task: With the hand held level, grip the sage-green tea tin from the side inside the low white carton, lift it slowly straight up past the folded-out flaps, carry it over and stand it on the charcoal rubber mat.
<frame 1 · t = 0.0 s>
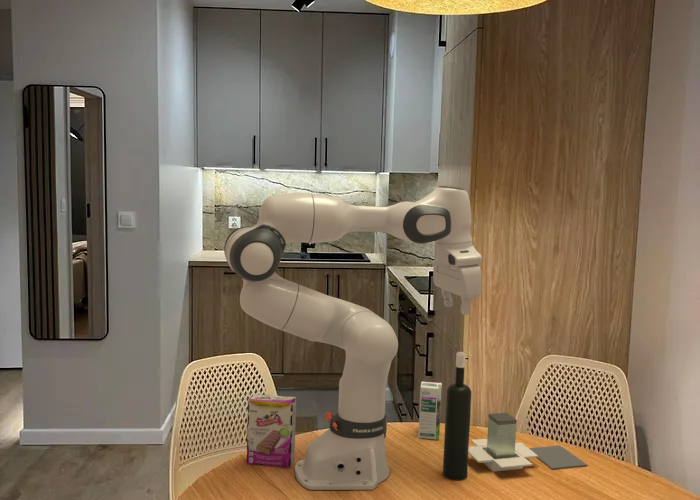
hand: (456, 310, 156), 39 cm above the table, tool pointing down, fingers open, 8 cm apart
candy bar box: (270, 463, 158), on the table
carton: (499, 462, 162), on the table
wine bottle: (454, 475, 154), on the table
mat: (556, 457, 166), on the table
tea tin: (499, 463, 162), resting in carton
syrup box: (428, 436, 178), on the table
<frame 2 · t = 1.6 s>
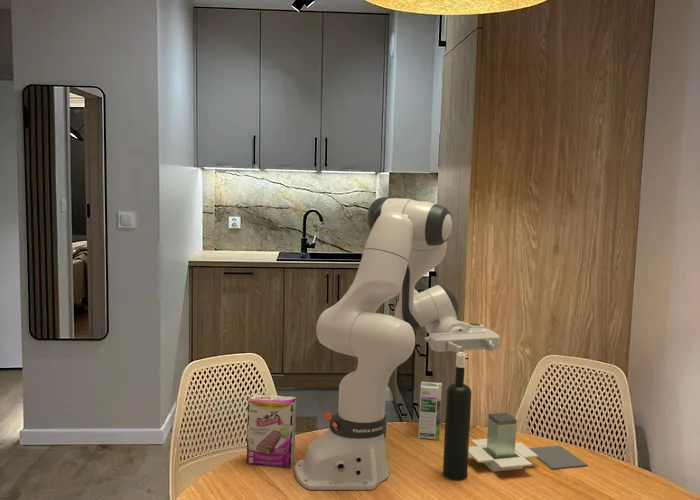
hand: (475, 349, 175), 25 cm above the table, tool horizontal, fingers open, 8 cm apart
nothing on the table moved.
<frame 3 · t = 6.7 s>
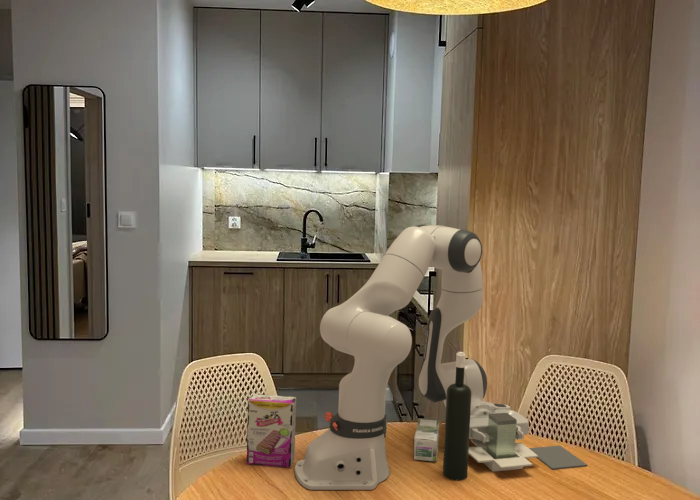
hand: (503, 438, 160), 7 cm above the table, tool horizontal, fingers open, 8 cm apart
syrup box: (428, 428, 175), point 3 cm above the table
everything else where it was.
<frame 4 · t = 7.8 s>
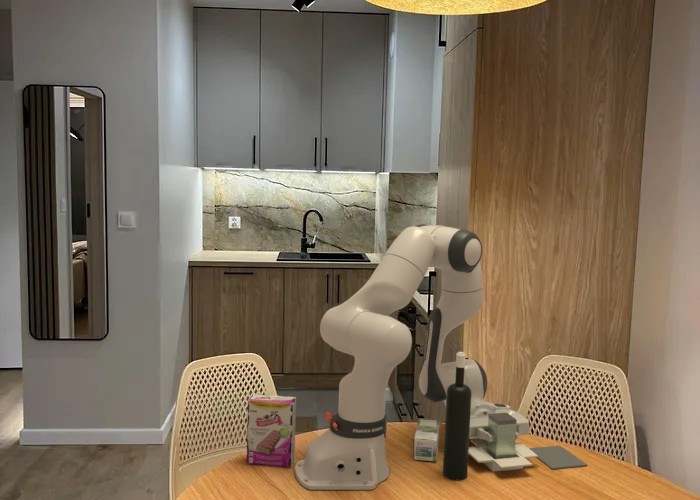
hand: (504, 438, 160), 7 cm above the table, tool horizontal, fingers closed on tea tin, 5 cm apart
tea tin: (499, 463, 162), resting in carton, touching gripper
everything else where it was.
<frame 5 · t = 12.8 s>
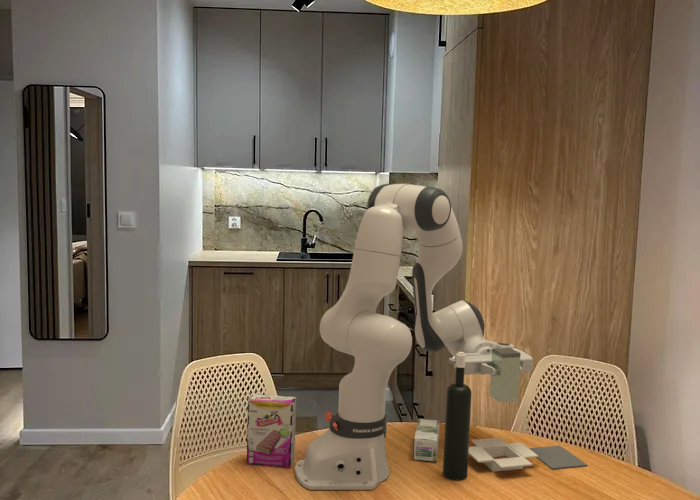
hand: (507, 372, 158), 24 cm above the table, tool horizontal, fingers closed on tea tin, 5 cm apart
tea tin: (503, 398, 160), point 17 cm above the table, touching gripper
everything else where it was.
when the fingers open (8 cm above the table, at t = 17.8 s): tea tin drops 1 cm, resting on mat.
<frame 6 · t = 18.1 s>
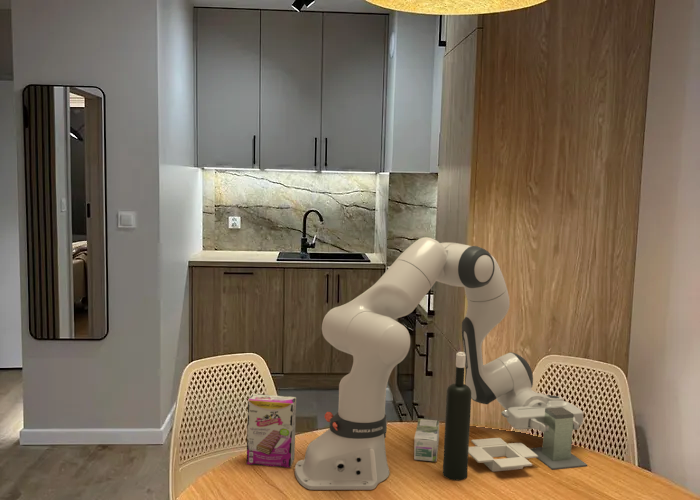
hand: (561, 427, 164), 8 cm above the table, tool horizontal, fingers open, 7 cm apart
tea tin: (556, 456, 166), resting on mat
everything else where it was.
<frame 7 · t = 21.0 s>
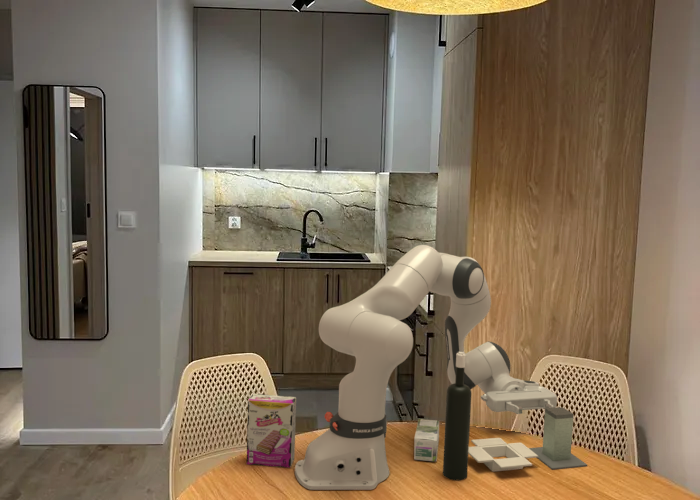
hand: (535, 410, 176), 9 cm above the table, tool horizontal, fingers open, 8 cm apart
nothing on the table moved.
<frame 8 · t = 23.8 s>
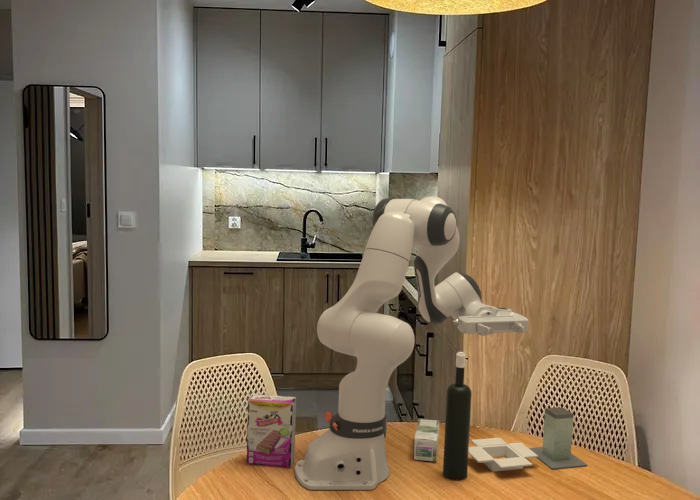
hand: (506, 330, 175), 30 cm above the table, tool horizontal, fingers open, 8 cm apart
nothing on the table moved.
at the end: tea tin inside the target area on the mat (0.0 cm from its centre), point 0.4 cm above the mat's base; tea tin tilted 0°; the gripper is holding nothing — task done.
